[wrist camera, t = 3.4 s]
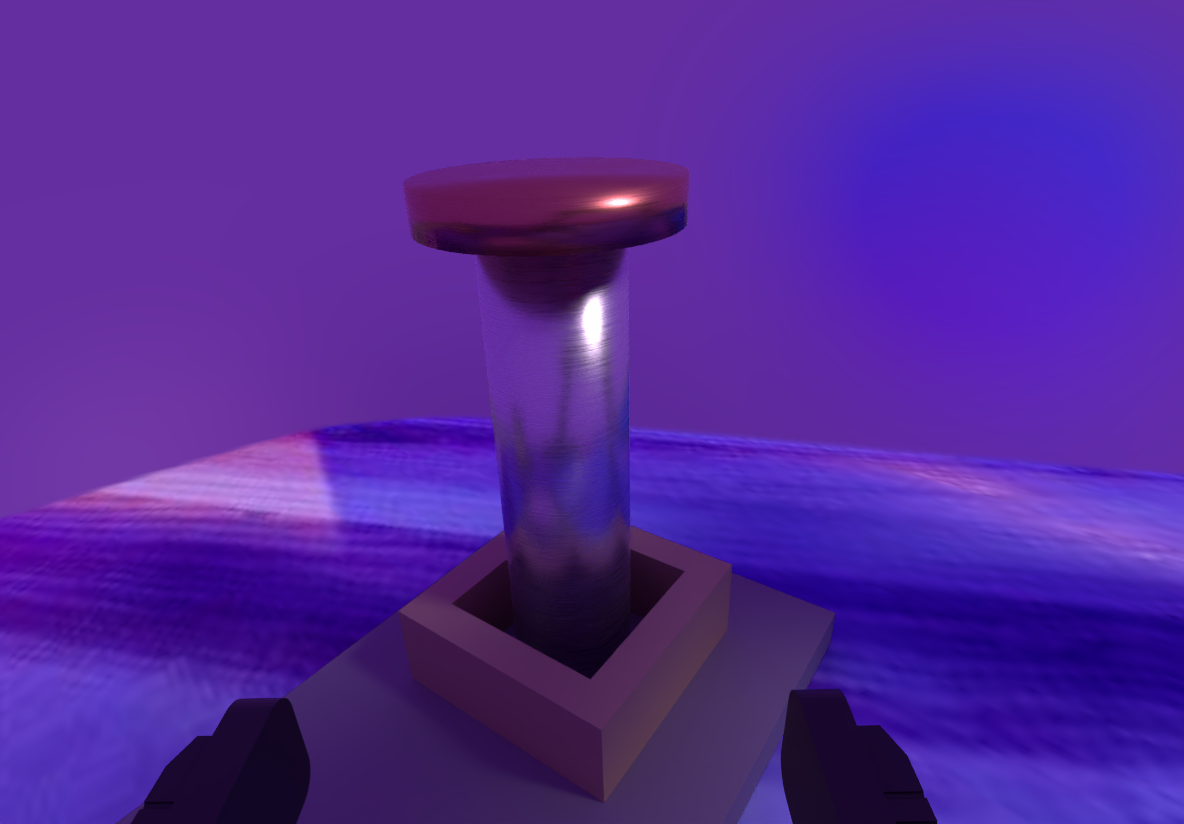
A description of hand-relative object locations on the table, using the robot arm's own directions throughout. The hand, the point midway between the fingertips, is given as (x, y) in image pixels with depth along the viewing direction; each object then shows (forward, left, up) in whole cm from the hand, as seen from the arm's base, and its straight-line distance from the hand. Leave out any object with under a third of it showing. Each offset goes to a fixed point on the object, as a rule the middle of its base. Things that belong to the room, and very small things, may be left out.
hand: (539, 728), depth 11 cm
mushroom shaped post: (-8, -6, -9) cm, 14 cm away
